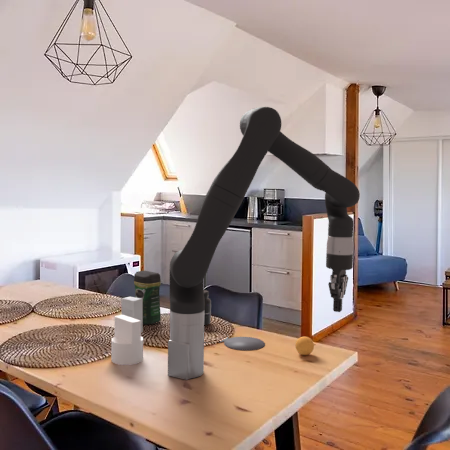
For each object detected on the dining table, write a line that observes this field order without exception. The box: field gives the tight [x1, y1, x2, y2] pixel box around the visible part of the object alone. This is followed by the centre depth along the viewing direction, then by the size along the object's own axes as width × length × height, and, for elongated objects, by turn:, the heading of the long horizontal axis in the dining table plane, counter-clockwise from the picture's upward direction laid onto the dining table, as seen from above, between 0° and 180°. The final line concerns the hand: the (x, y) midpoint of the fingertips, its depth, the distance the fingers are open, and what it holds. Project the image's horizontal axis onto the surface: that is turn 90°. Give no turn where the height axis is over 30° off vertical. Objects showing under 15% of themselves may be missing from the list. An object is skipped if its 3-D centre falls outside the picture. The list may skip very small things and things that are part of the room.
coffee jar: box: [133, 270, 162, 325], centre depth 183 cm, size 10×8×19 cm
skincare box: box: [121, 296, 144, 332], centre depth 170 cm, size 6×4×12 cm
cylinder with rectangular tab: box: [110, 314, 144, 366], centre depth 145 cm, size 9×9×12 cm
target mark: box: [223, 336, 266, 351], centre depth 162 cm, size 13×13×1 cm
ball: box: [295, 336, 315, 356], centre depth 152 cm, size 6×6×6 cm
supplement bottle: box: [204, 289, 212, 326], centre depth 183 cm, size 7×7×12 cm
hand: (337, 311), depth 147 cm, fingers closed
